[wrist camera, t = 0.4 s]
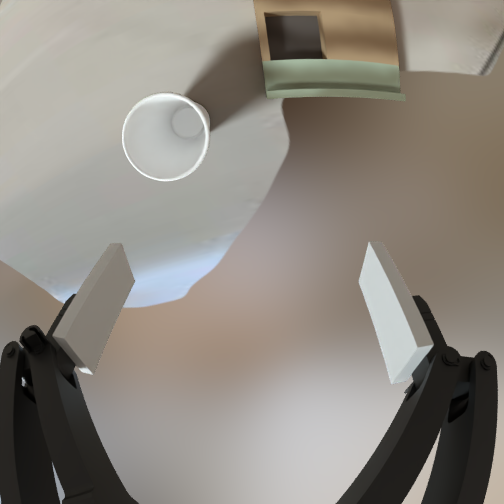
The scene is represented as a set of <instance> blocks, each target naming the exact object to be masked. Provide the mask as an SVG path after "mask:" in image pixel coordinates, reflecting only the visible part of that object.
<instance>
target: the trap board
mask: <svg viewBox="0 0 504 504" xmlns="http://www.w3.org/2000/svg"><path fill="white" fill-rule="evenodd" d="M253 2H254V8H255V15H256V21H257V28H258V35H259V42H260V50H261V57H262V65H263V72H264V80H265V89H266V97H267V99H274V98H290V97H318V96H319V97H322V96H323V97H326V96H327V97H363V98H377V99H388V100H399V101H406V100H405V99H406V98H405V94H401V93H400V74H399V60H398V49H397V40H396V32H395V25H394V19H393V13H392V7H391V2H390V0H253Z"/></svg>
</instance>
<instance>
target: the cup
mask: <svg viewBox="0 0 504 504" xmlns="http://www.w3.org/2000/svg"><path fill="white" fill-rule="evenodd" d="M209 128H210V117H209V114H208V112H207V111H206V109H205V108H204V107H203V106H201V105H200V104H198V103H196V102H193V101H192V100H191V99H189V98H188V97H185V96H183V95H181V94H177V93H173V92H160V93H155V94H152V95H150V96H147V97H145V98H144V99H142V100H141V101H139V102H138V103H137V104H136V105H135V106H134V107H133V108H132V109H131V111H130V112H129V114H128V115H127V117H126V120H125V122H124V126H123V131H122V143H123V148H124V151H125V154H126V156H127V158H128V160H129V161H130V163H131V164H132V165H133V166H134V167H135V169H136V170H138V171H139V172H140V173H142V174H143V175H145V176H147V177H149V178H151V179H155V180H159V181H173V180H177V179H181V178H183V177H185V176H187V175H189V174H191V173H192V172H193V171H194V170H196V169H197V168H198V166H199V165H200V164H201V163H202V162H203V160H204V158H205V156H206V154H207V151H208V148H209V143H210V129H209Z"/></svg>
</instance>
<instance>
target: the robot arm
mask: <svg viewBox="0 0 504 504" xmlns="http://www.w3.org/2000/svg"><path fill="white" fill-rule="evenodd" d="M134 283H135V280H134V277H133V274H132V272H131V269H130V266H129V263H128V260H127V257H126V254H125V252H124V249H123V246H122V243H113V244H110V245H109V246H108V248H107V249H106V251H105V252H104V253H103V255H102V256H101V258H100V259H99V261H98V262H97V263H96V265H95V266H94V268H93V269H92V271H91V272H90V274H89V275H88V277H87V278H86V280H85V281H84V283H83V284H82V286H81V288H80V289H79V291H78V292H77V294H73V295H72V296H71V297H70V298H69V299H68V300H67V301H66V302H65V304H64V306H63V307H62V310H61V311H60V312H59V314H58V316H57V317H56V319H55V321H54V322H53V324H52V326H51V328H50V330H49V331H48V333H47V335H46V336H45V335H44V333H43V332H42V331H41V329H40V328H39V327H38V326H36V325H32V326H29V327H28V328H26V329H25V330H24V331H23V333H22V334H21V336H20V343H21V344H22V345H23V346H24V348H22V347H21V346H20V345H19V344H18V343H17V342H16V341H12V342H10V343H8V344H7V345H6V346H5V348H4V350H3V353H2V357H1V363H0V496H1V504H60V500H59V496H58V492H57V487H56V483H55V478H54V472H53V466H52V462H53V465H54V468H55V470H56V473H57V476H58V478H59V480H60V483H61V485H62V488H63V490H64V493H65V498H64V499H63V500H62V504H139V503H138V502H137V501H135V500H134V499H133V498H132V497H131V496H130V495H129V494H128V492H127V491H126V489H125V487H124V486H123V484H122V482H121V480H120V479H119V477H118V475H117V473H116V471H115V469H114V467H113V466H112V463H111V461H110V459H109V457H108V455H107V453H106V451H105V449H104V447H103V445H102V442H101V440H100V438H99V436H98V434H97V431H96V429H95V426H94V424H93V422H92V419H91V416H90V414H89V411H88V408H87V405H86V402H85V400H84V397H83V394H82V391H81V388H80V384H79V381H78V378H77V374H76V373H75V371H74V368H75V366H77V367H78V368H79V369H80V370H81V372H84V373H88V374H92V375H94V373H95V370H96V368H97V365H98V363H99V360H100V358H101V355H102V353H103V350H104V348H105V345H106V343H107V341H108V338H109V336H110V334H111V332H112V329H113V327H114V325H115V323H116V320H117V318H118V316H119V314H120V312H121V309H122V307H123V305H124V303H125V301H126V299H127V297H128V295H129V293H130V291H131V289H132V287H133V285H134ZM359 284H360V287H361V290H362V292H363V295H364V298H365V301H366V304H367V306H368V309H369V312H370V315H371V318H372V321H373V324H374V327H375V330H376V334H377V337H378V340H379V343H380V347H381V350H382V353H383V357H384V360H385V364H386V367H387V371H388V375H389V378H390V382H391V384H396V383H401V382H405V381H407V380H408V378H409V377H410V376H411V375H412V377H413V380H414V381H413V383H412V384H411V385H410V386H409V387H408V388H407V389H406V391H405V392H404V393H407V394H406V396H405V398H404V401H403V403H402V404H401V406H400V408H399V410H398V412H397V414H396V416H395V418H394V420H393V421H392V423H391V425H390V427H389V429H388V430H387V432H386V434H385V435H384V437H383V439H382V440H381V442H380V444H379V445H378V447H377V448H376V450H375V452H374V453H373V455H372V456H371V458H370V459H369V461H368V462H367V464H366V465H365V467H364V468H363V469H362V471H361V472H360V474H359V475H358V477H357V478H356V479H355V480H354V482H353V483H352V484H351V486H350V487H349V488H348V490H347V491H346V492H345V493H344V494H343V496H342V497H341V498H340V499H339V501H338V502H337V503H336V504H401V503H402V502H403V501H404V499H405V497H406V496H407V494H408V492H409V491H410V489H411V487H412V486H413V484H414V482H415V481H416V479H417V477H418V475H419V473H420V472H421V470H422V468H423V466H424V464H425V462H426V460H427V458H428V456H429V454H430V452H431V450H432V448H433V445H434V443H435V441H436V439H437V436H438V434H439V431H440V429H441V432H440V437H439V442H438V447H437V451H436V456H435V460H434V464H433V468H432V471H431V475H430V478H429V482H428V485H427V488H426V491H425V494H424V497H423V500H422V503H421V504H483V502H484V499H485V495H486V491H487V487H488V483H489V478H490V473H491V468H492V462H493V455H494V448H495V439H496V428H497V408H498V405H497V404H498V389H497V388H498V384H497V365H496V361H495V359H494V357H493V356H492V355H491V354H490V353H489V352H487V351H480V352H479V353H478V354H477V355H476V356H475V357H474V358H472V357H463V356H460V354H459V353H458V351H456V350H455V349H454V348H452V347H449V346H447V344H446V342H445V340H444V338H443V335H442V333H441V331H440V329H439V327H438V325H437V323H436V321H435V320H434V319H435V318H434V316H433V315H432V313H431V310H430V308H429V306H428V305H427V303H426V302H425V301H424V300H423V299H422V298H421V297H420V296H419V295H418V296H411V294H410V292H409V290H408V288H407V286H406V284H405V282H404V280H403V278H402V276H401V275H400V273H399V271H398V269H397V267H396V265H395V263H394V262H393V260H392V258H391V256H390V255H389V253H388V251H387V249H386V248H385V246H384V244H383V243H382V242H376V241H375V242H374V241H373V242H372V241H369V244H368V248H367V252H366V256H365V260H364V264H363V268H362V271H361V275H360V279H359ZM22 380H23V381H24V382H25V386H22Z"/></svg>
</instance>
